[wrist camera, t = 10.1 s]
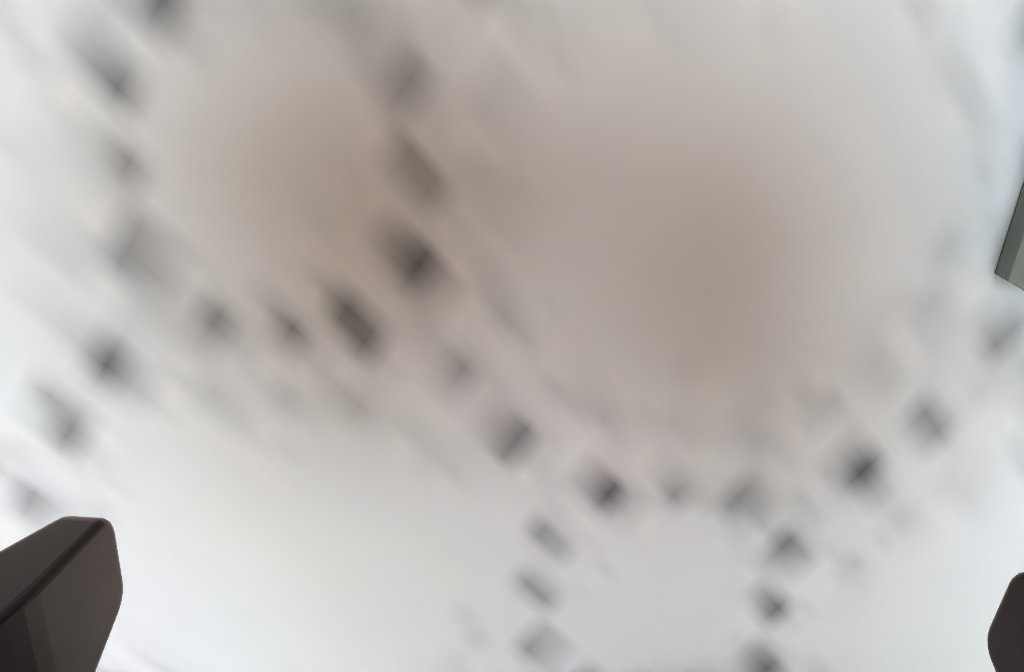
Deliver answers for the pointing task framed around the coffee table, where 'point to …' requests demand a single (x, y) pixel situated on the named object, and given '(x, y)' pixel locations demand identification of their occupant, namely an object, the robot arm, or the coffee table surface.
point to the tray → (1014, 249)
